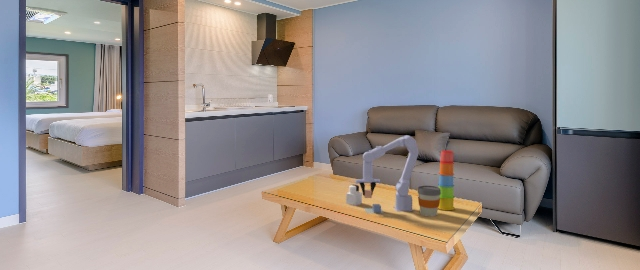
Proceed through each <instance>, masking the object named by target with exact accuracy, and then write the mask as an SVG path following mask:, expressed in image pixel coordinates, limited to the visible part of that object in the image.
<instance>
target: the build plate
mask: <svg viewBox="0 0 640 270" xmlns="http://www.w3.org/2000/svg"><path fill="white" fill-rule="evenodd" d="M363 210H364V211H365V212H366V214H375V213H374V212H373V211H372V207H363ZM384 213H385V211H384V210H382V208H381V213H380V214H384Z"/></svg>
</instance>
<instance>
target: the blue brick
mask: <svg viewBox="0 0 640 270" xmlns="http://www.w3.org/2000/svg"><path fill="white" fill-rule="evenodd" d="M371 208H372V211H373V212H374V213H373V214H382V213H381V209H382V205H380V203H373V204H372V207H371Z"/></svg>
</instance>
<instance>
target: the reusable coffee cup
mask: <svg viewBox="0 0 640 270" xmlns="http://www.w3.org/2000/svg"><path fill="white" fill-rule="evenodd" d="M417 194H418V196H417V200H418V206H419V211H420V215H421V216H425V217H436V216H437V215H438V207H439V203H440V194H441V191H440V188H439V186H435V185H420V186H418V187H417Z"/></svg>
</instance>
